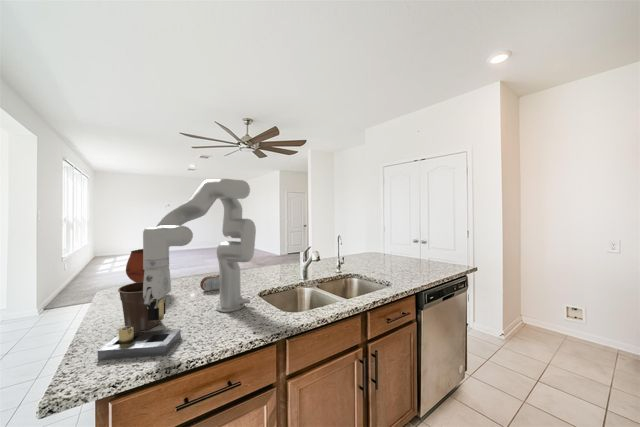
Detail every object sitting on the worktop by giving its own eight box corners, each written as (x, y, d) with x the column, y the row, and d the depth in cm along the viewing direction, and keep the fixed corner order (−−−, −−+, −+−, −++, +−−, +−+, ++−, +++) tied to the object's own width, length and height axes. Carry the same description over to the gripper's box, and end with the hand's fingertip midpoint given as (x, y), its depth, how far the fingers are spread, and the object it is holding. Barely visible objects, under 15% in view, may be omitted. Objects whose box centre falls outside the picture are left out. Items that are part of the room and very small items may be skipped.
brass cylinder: (165, 316, 92) (165, 296, 92) (160, 321, 88) (160, 300, 88) (153, 317, 92) (153, 297, 92) (147, 322, 88) (147, 300, 88)
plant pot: (171, 325, 107) (170, 285, 107) (122, 339, 96) (121, 295, 96) (161, 314, 119) (160, 278, 119) (116, 325, 108) (115, 285, 108)
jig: (180, 337, 97) (180, 318, 97) (165, 355, 85) (165, 333, 85) (121, 341, 95) (121, 321, 94) (97, 360, 83) (97, 337, 83)
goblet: (160, 287, 160) (159, 246, 160) (172, 293, 148) (171, 249, 147) (121, 295, 146) (120, 250, 145) (131, 303, 133) (130, 253, 133)
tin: (226, 286, 160) (226, 273, 160) (228, 288, 158) (228, 274, 158) (200, 292, 151) (199, 277, 151) (201, 293, 148) (201, 278, 148)
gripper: (156, 268, 82) (156, 327, 82) (178, 258, 99) (178, 307, 99) (130, 269, 81) (130, 328, 81) (156, 259, 98) (157, 308, 98)
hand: (157, 316), depth 90 cm, fingers closed on brass cylinder, 4 cm apart
